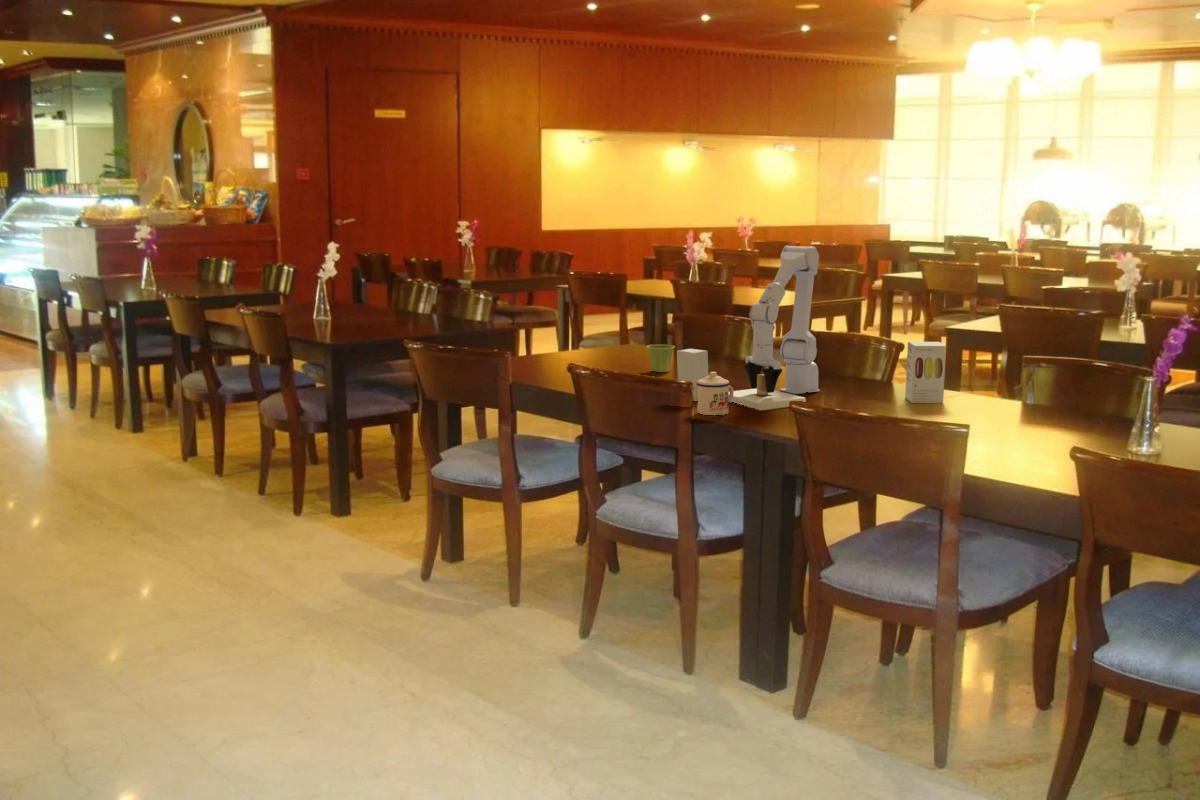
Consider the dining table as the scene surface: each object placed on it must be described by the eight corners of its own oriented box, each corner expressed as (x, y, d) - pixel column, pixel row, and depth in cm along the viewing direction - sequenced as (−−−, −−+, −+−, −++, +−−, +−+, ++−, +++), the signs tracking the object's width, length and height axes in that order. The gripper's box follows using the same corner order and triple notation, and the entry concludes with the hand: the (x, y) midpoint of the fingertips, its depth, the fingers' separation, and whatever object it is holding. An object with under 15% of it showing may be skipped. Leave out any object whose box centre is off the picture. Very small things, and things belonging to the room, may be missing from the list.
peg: (762, 400, 354) (763, 373, 353) (770, 402, 352) (770, 375, 350) (754, 401, 353) (754, 374, 351) (761, 403, 350) (761, 376, 348)
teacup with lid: (711, 418, 330) (711, 376, 328) (689, 413, 338) (689, 371, 335) (743, 412, 338) (744, 371, 335) (721, 407, 345) (721, 367, 343)
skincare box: (709, 400, 355) (710, 350, 353) (693, 402, 352) (693, 352, 349) (692, 396, 362) (692, 347, 360) (676, 398, 359) (676, 349, 356)
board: (764, 393, 364) (764, 387, 364) (805, 404, 347) (805, 397, 347) (720, 399, 357) (720, 392, 357) (760, 410, 340) (760, 403, 339)
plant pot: (656, 368, 414) (656, 343, 412) (679, 371, 408) (679, 345, 407) (641, 372, 406) (641, 347, 405) (664, 374, 401) (664, 349, 399)
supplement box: (910, 403, 347) (912, 345, 344) (904, 397, 356) (906, 341, 353) (944, 403, 347) (946, 345, 343) (937, 397, 356) (939, 340, 353)
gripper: (737, 342, 353) (736, 387, 356) (766, 348, 341) (766, 395, 343) (756, 340, 357) (756, 385, 359) (786, 346, 344) (786, 393, 347)
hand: (762, 390), depth 351 cm, fingers open, 7 cm apart
